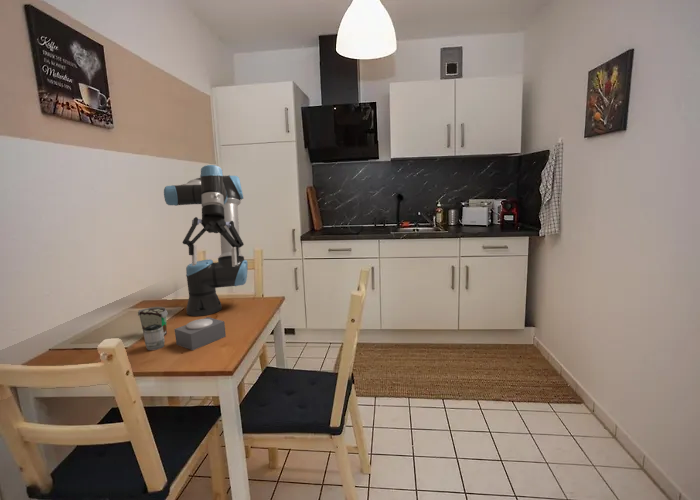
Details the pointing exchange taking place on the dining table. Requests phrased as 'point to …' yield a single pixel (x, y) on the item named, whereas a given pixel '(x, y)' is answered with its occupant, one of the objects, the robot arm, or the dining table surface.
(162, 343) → the camera lens
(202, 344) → the grey block with dome
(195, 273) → the robot arm
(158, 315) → the food container
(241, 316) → the dining table surface
